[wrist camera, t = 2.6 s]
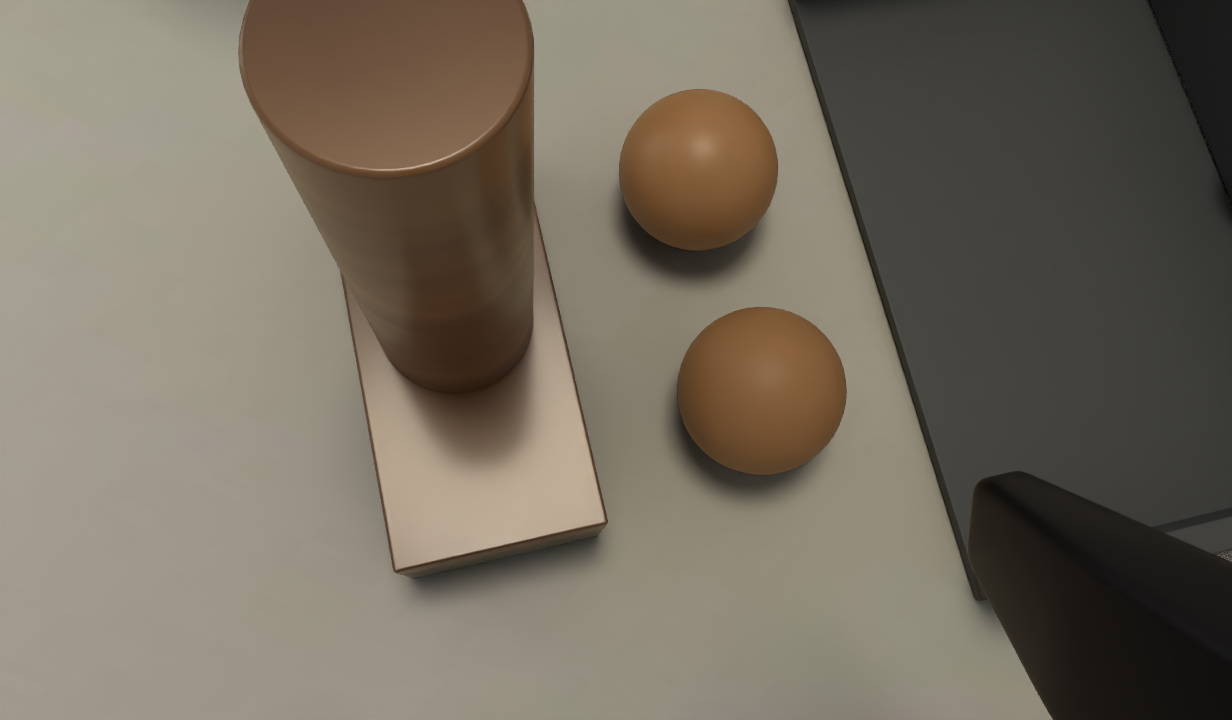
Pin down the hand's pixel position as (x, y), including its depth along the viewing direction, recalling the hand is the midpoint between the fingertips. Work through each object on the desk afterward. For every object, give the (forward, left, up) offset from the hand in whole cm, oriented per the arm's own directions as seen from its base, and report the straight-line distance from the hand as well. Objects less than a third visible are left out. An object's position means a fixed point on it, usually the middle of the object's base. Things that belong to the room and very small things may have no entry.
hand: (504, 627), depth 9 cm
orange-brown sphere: (+6, -2, -10) cm, 12 cm away
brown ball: (+10, +1, -10) cm, 15 cm away
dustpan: (+17, -11, -12) cm, 23 cm away
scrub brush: (+5, +4, -12) cm, 13 cm away
